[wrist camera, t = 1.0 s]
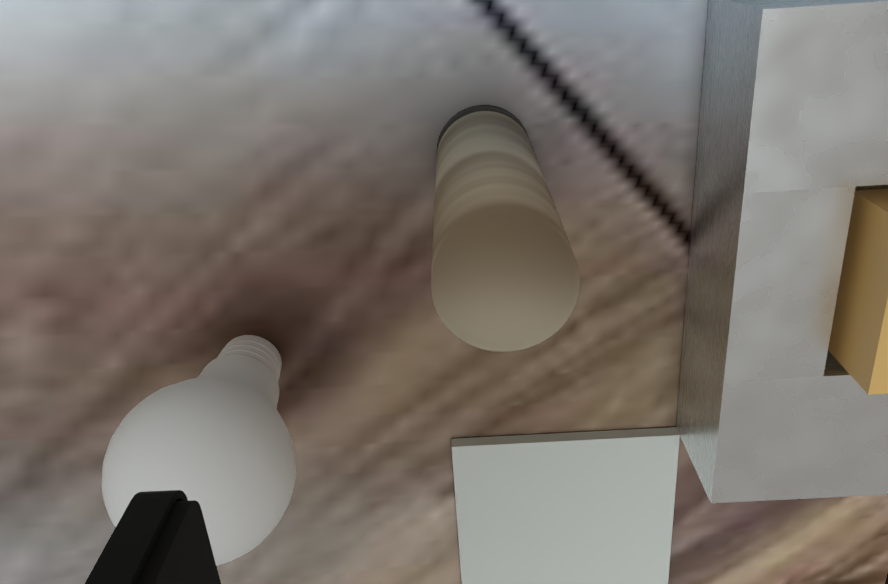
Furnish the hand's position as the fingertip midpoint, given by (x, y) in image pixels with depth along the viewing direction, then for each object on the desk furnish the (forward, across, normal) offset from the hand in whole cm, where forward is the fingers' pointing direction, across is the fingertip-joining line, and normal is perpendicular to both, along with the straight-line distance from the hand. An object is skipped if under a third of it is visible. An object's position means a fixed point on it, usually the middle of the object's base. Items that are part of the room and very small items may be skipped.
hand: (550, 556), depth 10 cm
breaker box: (+21, -15, +4) cm, 26 cm away
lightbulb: (+21, +10, +8) cm, 24 cm away
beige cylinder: (+21, 0, 0) cm, 21 cm away
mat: (+20, -3, +18) cm, 28 cm away
